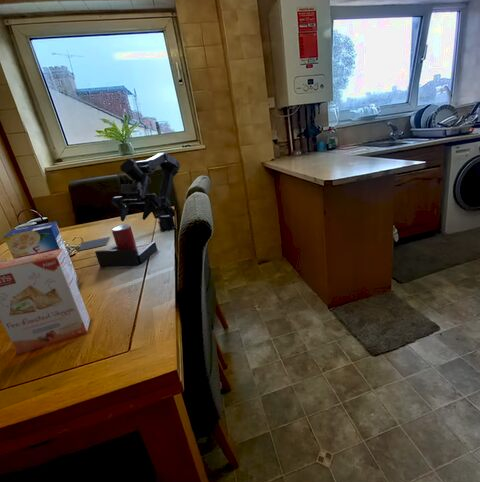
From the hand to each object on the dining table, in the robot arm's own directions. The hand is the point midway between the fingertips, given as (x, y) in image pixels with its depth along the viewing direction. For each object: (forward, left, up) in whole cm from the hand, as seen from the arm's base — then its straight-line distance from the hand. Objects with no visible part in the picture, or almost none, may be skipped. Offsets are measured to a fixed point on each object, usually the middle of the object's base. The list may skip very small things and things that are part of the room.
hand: (132, 220), depth 109 cm
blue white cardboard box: (+28, +16, -13) cm, 35 cm away
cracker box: (+28, +41, -13) cm, 52 cm away
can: (+5, +6, -12) cm, 15 cm away
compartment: (+5, +6, -13) cm, 15 cm away
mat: (+15, -27, -13) cm, 34 cm away
